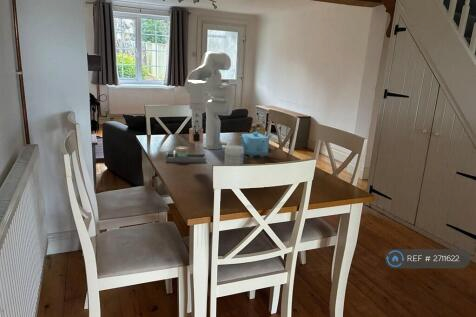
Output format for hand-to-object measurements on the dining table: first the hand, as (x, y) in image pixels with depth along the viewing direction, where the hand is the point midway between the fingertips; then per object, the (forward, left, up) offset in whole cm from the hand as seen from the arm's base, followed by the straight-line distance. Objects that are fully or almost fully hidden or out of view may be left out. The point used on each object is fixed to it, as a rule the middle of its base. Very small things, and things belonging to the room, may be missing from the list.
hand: (196, 139), depth 189 cm
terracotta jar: (0, 0, -1) cm, 1 cm away
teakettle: (-38, -25, -16) cm, 48 cm away
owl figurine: (-44, -51, -16) cm, 69 cm away
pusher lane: (+5, -12, -15) cm, 20 cm away
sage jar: (+8, -12, -15) cm, 20 cm away
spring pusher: (+12, -12, -15) cm, 22 cm away
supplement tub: (-19, +13, -16) cm, 28 cm away
